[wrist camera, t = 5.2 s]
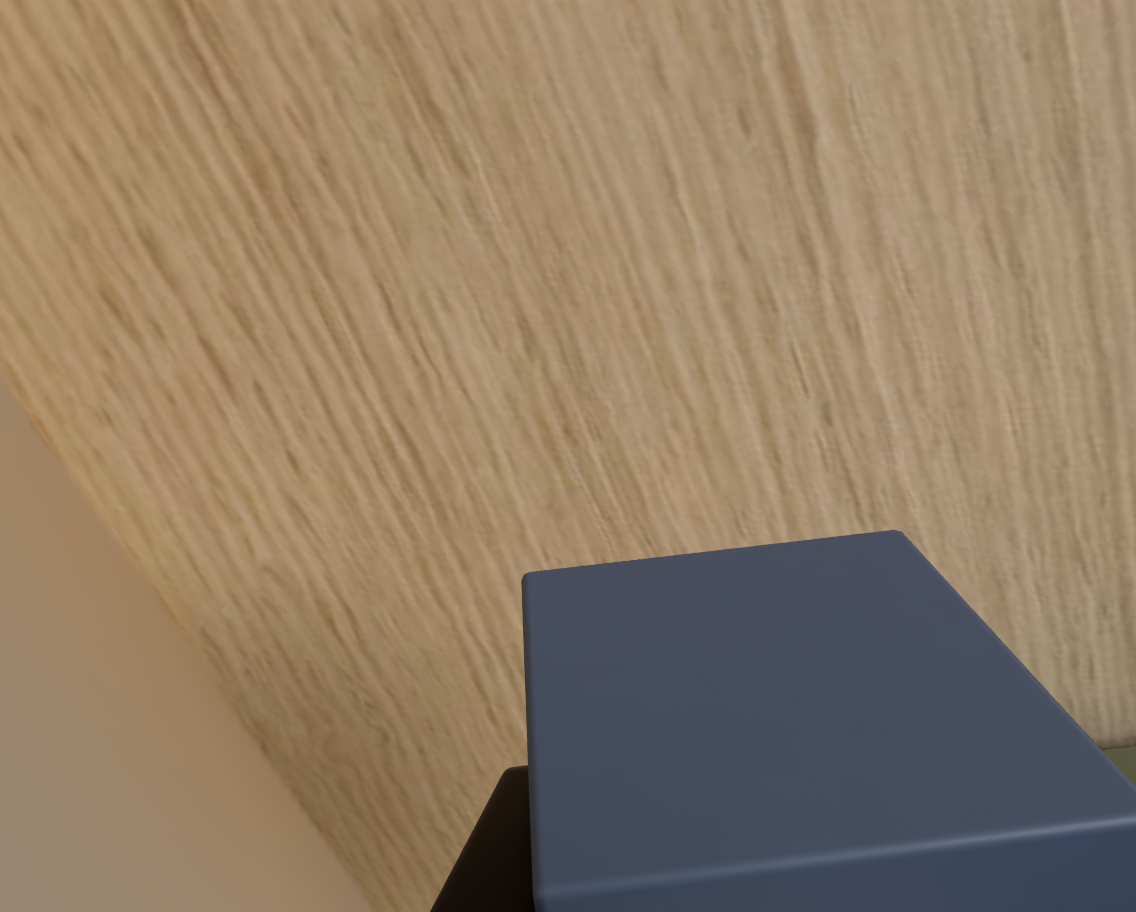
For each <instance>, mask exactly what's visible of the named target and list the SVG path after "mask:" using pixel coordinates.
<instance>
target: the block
mask: <svg viewBox="0 0 1136 912" xmlns="http://www.w3.org/2000/svg"><path fill="white" fill-rule="evenodd" d="M521 583H522V611H523V638H524V665H525V693H526V720H527V748H528V775H529V802H530V830H531V857H532V884H533V899H534V905H535V912H1136V787H1135V786H1134V785H1133V784H1132V783H1131V782H1130V781H1129V780H1128V779H1127V778H1126V776H1125V775H1124V774H1123V773H1122V772H1121V771H1120V770H1119V769H1118V768H1117V767H1116V765H1115V764H1114V763H1113V762H1112V761H1111V760H1110V759H1109V758H1108V757H1107V756H1106V755H1105V753H1104V752H1103V751H1102V750H1101V749H1100V748H1099V747H1098V746H1097V745H1096V744H1095V743H1094V741H1093V740H1092V739H1091V738H1090V737H1089V736H1088V735H1087V734H1086V733H1085V732H1084V730H1083V729H1082V728H1081V727H1080V726H1079V725H1078V724H1077V723H1076V722H1075V721H1074V720H1073V718H1072V717H1071V716H1070V715H1069V714H1068V713H1067V712H1066V711H1065V710H1064V709H1063V708H1062V706H1061V705H1060V704H1059V703H1058V702H1057V701H1056V700H1055V699H1054V698H1053V697H1052V696H1051V694H1050V693H1049V692H1048V691H1047V690H1046V689H1045V688H1044V687H1043V686H1042V685H1041V683H1040V682H1039V681H1038V680H1037V679H1036V678H1035V677H1034V676H1033V675H1032V674H1031V673H1030V671H1029V670H1028V669H1027V668H1026V667H1025V666H1024V665H1023V664H1022V663H1021V662H1020V661H1019V659H1018V658H1017V657H1016V656H1015V655H1014V654H1013V653H1012V652H1011V651H1010V650H1009V649H1008V647H1007V646H1006V645H1005V644H1004V643H1003V642H1002V641H1001V640H1000V639H999V638H998V636H997V635H996V634H995V633H994V632H993V631H992V630H991V629H990V628H989V627H988V626H987V624H986V623H985V622H984V621H983V620H982V619H981V618H980V617H979V616H978V615H977V614H976V612H975V611H974V610H973V609H972V608H971V607H970V606H969V605H968V604H967V603H966V601H965V600H964V599H963V598H962V597H961V596H960V595H959V594H958V593H957V592H956V591H955V589H954V588H953V587H952V586H951V585H950V584H949V583H948V582H947V581H946V580H945V579H944V577H943V576H942V575H941V574H940V573H939V572H938V571H937V570H936V569H935V568H934V567H933V565H932V564H931V563H930V562H929V561H928V560H927V559H926V558H925V557H924V556H923V554H922V553H921V552H920V551H919V550H918V549H917V548H916V547H915V546H914V545H913V544H912V542H911V541H910V540H909V539H908V538H907V537H906V536H905V535H904V534H903V533H902V532H900V531H896V530H890V531H881V532H873V533H864V534H855V535H847V536H838V537H830V538H821V539H812V540H804V541H795V542H786V543H778V544H769V545H760V546H752V547H743V548H735V549H726V550H717V551H709V552H700V553H691V554H683V555H674V556H665V557H657V558H648V559H639V560H631V561H622V562H614V563H605V564H596V565H588V566H579V567H570V568H562V569H553V570H544V571H536V572H529V573H526V574H524V576H523V578H522V581H521Z"/></svg>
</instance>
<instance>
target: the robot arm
mask: <svg viewBox="0 0 1136 912" xmlns="http://www.w3.org/2000/svg"><path fill="white" fill-rule="evenodd" d="M430 912H535V905H534V899H533V884H532V857H531V830H530V802H529V775H528V765H526V766H518V767H511V768H508V769H507V770H505V771H504V773H503V775H502V776H501V778H500V780H499V782H498V784H497V786H496V788H495V789H494V791H493V793H492V795H491V797H490V799H489V801H488V803H487V805H486V807H485V808H484V810H483V812H482V814H481V816H480V818H479V820H478V822H477V824H476V825H475V827H474V829H473V831H472V833H471V835H470V837H469V839H468V841H467V843H466V844H465V846H464V848H463V850H462V852H461V854H460V856H459V858H458V860H457V862H456V863H455V865H454V867H453V869H452V871H451V873H450V875H449V877H448V879H447V881H446V882H445V884H444V886H443V888H442V890H441V892H440V894H439V896H438V898H437V899H436V901H435V903H434V905H433V907H432V909H431V911H430Z"/></svg>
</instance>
